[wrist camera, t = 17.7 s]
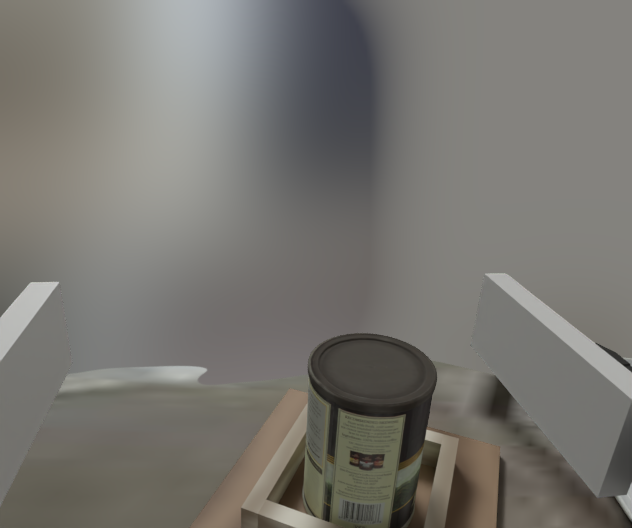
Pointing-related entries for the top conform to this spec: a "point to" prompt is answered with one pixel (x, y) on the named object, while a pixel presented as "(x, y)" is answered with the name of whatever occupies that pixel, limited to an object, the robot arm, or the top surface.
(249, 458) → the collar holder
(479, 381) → the top surface
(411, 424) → the coffee can
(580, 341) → the robot arm
